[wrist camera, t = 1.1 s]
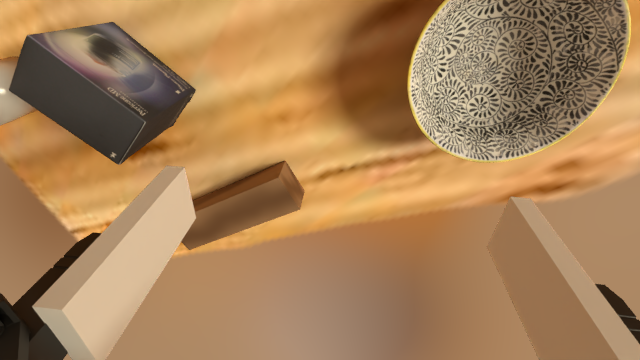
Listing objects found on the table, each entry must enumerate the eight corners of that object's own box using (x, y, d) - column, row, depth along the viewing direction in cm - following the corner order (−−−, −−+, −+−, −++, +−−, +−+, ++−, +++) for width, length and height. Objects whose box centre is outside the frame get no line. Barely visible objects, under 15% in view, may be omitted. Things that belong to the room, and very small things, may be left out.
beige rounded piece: (-10, 71, 38) (-67, 86, 33) (19, 46, 36) (-37, 58, 31) (34, 115, 40) (-13, 135, 35) (63, 94, 38) (18, 112, 33)
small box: (199, 87, 36) (148, 122, 27) (173, 126, 39) (119, 169, 30) (112, 17, 33) (23, 31, 24) (91, 64, 36) (4, 92, 27)
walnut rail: (179, 206, 46) (165, 224, 42) (285, 160, 40) (278, 177, 37) (201, 230, 48) (189, 250, 45) (304, 190, 42) (299, 209, 39)
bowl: (580, -76, 26) (653, -93, 19) (568, 107, 33) (618, 138, 27) (382, -4, 30) (389, 1, 23) (412, 145, 37) (424, 179, 31)
